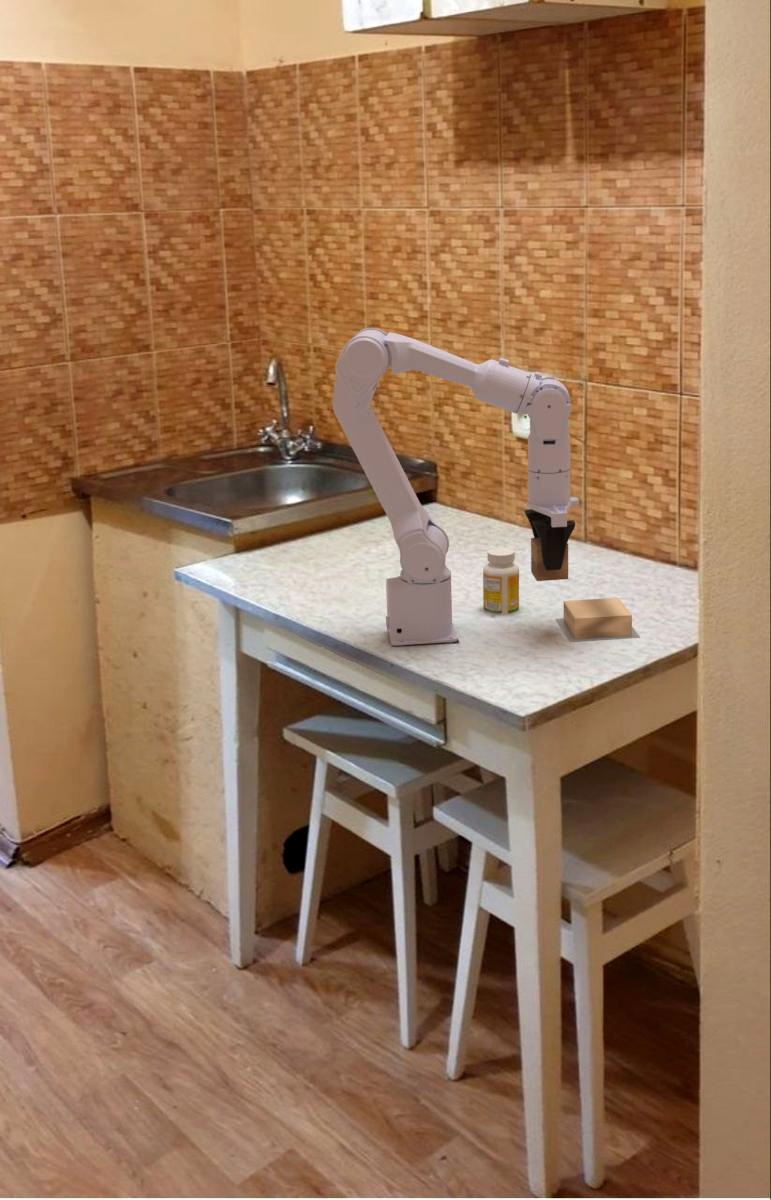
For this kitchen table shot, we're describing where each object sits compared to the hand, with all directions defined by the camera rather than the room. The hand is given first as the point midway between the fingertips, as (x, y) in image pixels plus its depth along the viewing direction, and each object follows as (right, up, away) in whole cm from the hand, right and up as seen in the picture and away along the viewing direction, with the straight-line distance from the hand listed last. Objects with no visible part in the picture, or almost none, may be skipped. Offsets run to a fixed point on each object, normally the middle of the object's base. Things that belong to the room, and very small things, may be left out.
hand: (549, 564), depth 181 cm
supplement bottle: (-6, -7, +14) cm, 16 cm away
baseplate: (+7, -9, +4) cm, 12 cm away
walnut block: (0, -2, +1) cm, 2 cm away
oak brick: (+7, -9, +4) cm, 12 cm away
